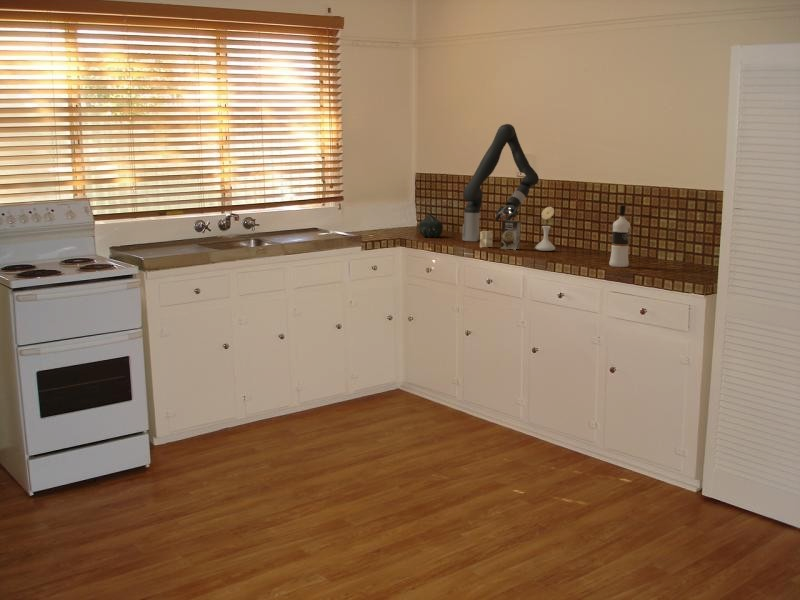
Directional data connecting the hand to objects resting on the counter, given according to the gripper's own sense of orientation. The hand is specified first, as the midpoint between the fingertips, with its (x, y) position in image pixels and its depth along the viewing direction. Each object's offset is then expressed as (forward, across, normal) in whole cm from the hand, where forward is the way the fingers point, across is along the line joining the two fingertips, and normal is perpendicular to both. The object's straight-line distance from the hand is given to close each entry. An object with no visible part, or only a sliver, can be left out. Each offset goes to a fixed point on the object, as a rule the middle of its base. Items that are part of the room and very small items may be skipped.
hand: (501, 220), depth 510 cm
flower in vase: (+6, +29, +16) cm, 33 cm away
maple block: (+19, 0, +2) cm, 19 cm away
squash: (+12, -59, +8) cm, 61 cm away
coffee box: (+14, +13, +7) cm, 21 cm away
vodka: (+18, +92, +4) cm, 94 cm away
